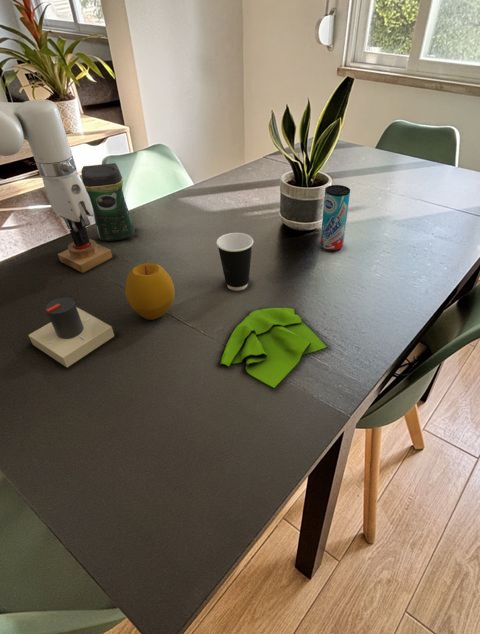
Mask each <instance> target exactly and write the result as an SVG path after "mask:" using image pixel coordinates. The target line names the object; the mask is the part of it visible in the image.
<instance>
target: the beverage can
mask: <svg viewBox="0 0 480 634" xmlns="http://www.w3.org/2000/svg"><path fill="white" fill-rule="evenodd" d="M350 196H351V189H350V188H349V187H348V186H346V185H341V184H332V185H328V186H326V187H325V188H324V196H323V197H324V198H323V207H322V220H321V229H320V231H321V232H320V242H319V244H320V247H321V249H322V250H324V251H327V252H338V251H340V250H342V248H343V247H344V242H345V235H346V226H347V219H348V211H349V204H350Z"/></svg>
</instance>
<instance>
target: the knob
mask: <svg viewBox="0 0 480 634" xmlns="http://www.w3.org/2000/svg"><path fill="white" fill-rule="evenodd" d="M76 307H77V305H76V303H75V300H74V299H72V298H70V297H58V298H55V299H53V300H51V301H49V302H48V303H47V304H46V306H45V312H46V314H47V316H48V318H49V321H50V322H51V323H52V325H53V328H54V330H55V332H56V334H57V336H58V337H60V338H63V339H69V338H73V337H76V336H78V335H79V334H80V333H81V332H82V331H83V329H84V327H83V324H82V321H81V319H80V316H79V313H78V311H77V308H78V307H77V308H76Z"/></svg>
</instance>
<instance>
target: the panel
mask: <svg viewBox="0 0 480 634" xmlns="http://www.w3.org/2000/svg"><path fill="white" fill-rule="evenodd" d="M76 308H77V311H78V313H79V316H80V319H81V321H82V324H83V327H84V329H83V331H82V332H81V333H80V334H79V335H78V336H76V337H73V338H69V339H63V338H60V337H58V336H57V334H56V332H55V330H54V328H53V325H52V323H51V321H50V322H49V323H46V324H45V325H43V326H42V327H39V328H37V329H36V330H34V331H33V332H30V333H29V334H28V335H27V336H28V337H29V339H30V342H31V344H32V345H33V346H34V347H35V348H37V349H38V350H40V351H42V352H43V353H44V354H46V355H47V356H49V357H50V358H52V359H53V360H55V361H56V362H58V363H60V364H61V365H62V366H64V367H66V368H69V367H71V366H72V365H73V364H75V363H77V362H78V361H79V360H81V359H83V358H84V357H86V356H87V355H88V354H90V353H92V352H93V351H94V350H96V349H97V348H99V347H101V346H102V345H103V344H106V343H107V342H108V341H110V340H111V339H113V338H114V337H115V332H114V330H113V326H112V325H110V324H108V323H106V322H104V321H103V320H101V319H99V318H98V317H95V316H94V315H92V314H90V313H89V312H87V311H85V310H83V309H81V308H79V307H77V306H76Z"/></svg>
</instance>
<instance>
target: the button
mask: <svg viewBox="0 0 480 634" xmlns="http://www.w3.org/2000/svg"><path fill="white" fill-rule="evenodd" d="M74 247H75V249H78V250H81V249H86V248H88V247H90V243H87V244H85V245H82V246H80V247H79V246H76V245H75V244H74Z"/></svg>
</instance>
